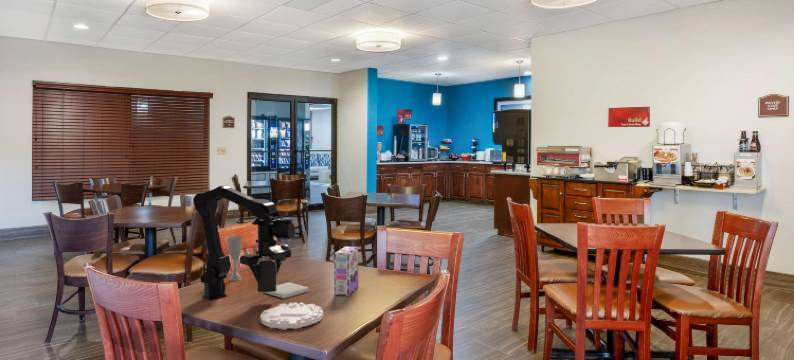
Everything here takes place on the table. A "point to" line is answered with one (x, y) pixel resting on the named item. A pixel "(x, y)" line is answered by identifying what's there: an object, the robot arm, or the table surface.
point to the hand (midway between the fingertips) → (266, 279)
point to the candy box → (345, 271)
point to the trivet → (288, 290)
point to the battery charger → (267, 276)
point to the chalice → (234, 253)
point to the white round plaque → (291, 316)
